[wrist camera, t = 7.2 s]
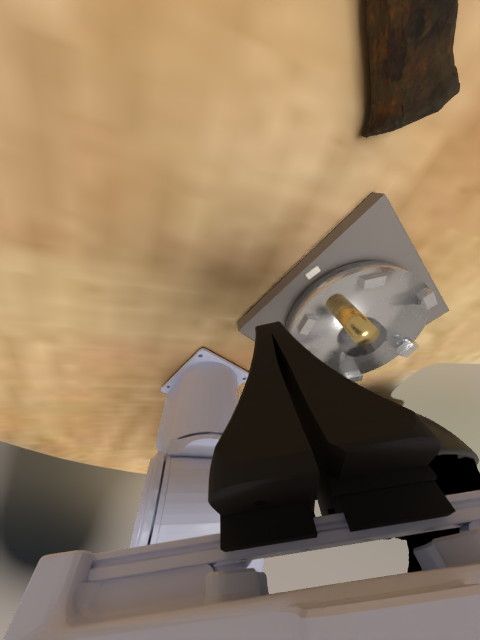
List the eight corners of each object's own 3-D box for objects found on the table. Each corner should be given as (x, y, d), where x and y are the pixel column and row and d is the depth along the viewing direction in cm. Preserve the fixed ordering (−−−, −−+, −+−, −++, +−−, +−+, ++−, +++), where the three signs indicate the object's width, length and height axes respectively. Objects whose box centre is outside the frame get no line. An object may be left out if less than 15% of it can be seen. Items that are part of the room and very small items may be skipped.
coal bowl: (353, 447, 44) (424, 590, 29) (278, 432, 38) (320, 609, 22) (440, 395, 35) (614, 567, 20) (361, 362, 28) (533, 588, 13)
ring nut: (427, 321, 22) (492, 368, 17) (321, 379, 26) (347, 430, 21) (390, 226, 16) (476, 252, 11) (260, 322, 20) (274, 374, 15)
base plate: (321, 378, 29) (326, 388, 28) (237, 322, 22) (238, 332, 21) (437, 303, 23) (451, 311, 22) (372, 192, 16) (386, 194, 15)
